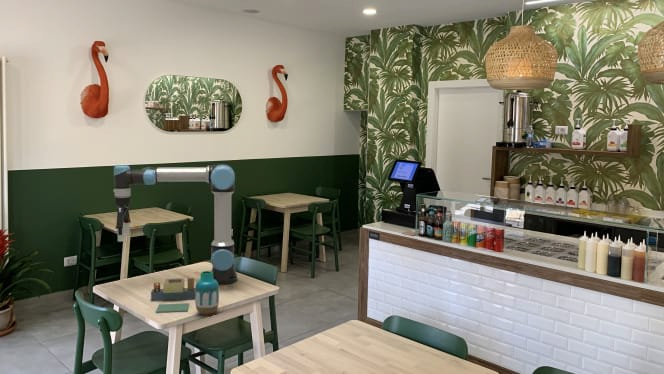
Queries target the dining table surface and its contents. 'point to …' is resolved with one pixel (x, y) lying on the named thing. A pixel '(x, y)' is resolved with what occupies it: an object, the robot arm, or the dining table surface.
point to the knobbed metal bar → (185, 295)
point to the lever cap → (173, 285)
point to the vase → (206, 293)
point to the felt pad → (172, 308)
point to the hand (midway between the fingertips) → (123, 238)
